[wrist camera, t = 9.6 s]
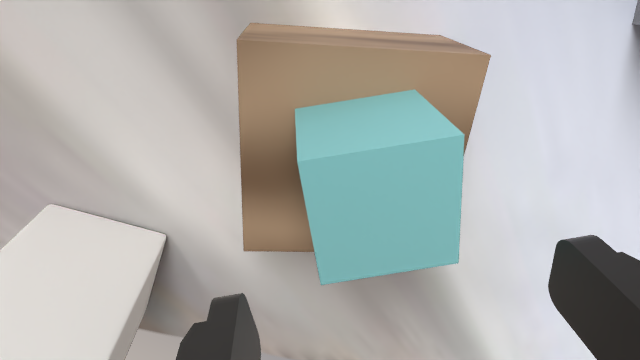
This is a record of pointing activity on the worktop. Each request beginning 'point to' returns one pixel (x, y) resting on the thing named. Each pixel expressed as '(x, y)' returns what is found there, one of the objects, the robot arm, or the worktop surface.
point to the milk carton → (75, 286)
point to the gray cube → (637, 14)
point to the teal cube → (380, 185)
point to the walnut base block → (322, 88)
